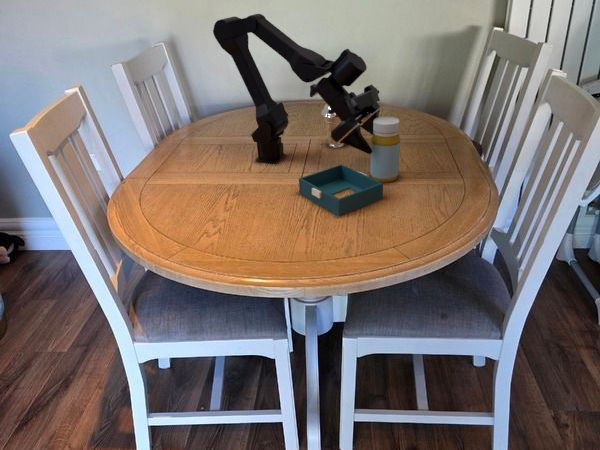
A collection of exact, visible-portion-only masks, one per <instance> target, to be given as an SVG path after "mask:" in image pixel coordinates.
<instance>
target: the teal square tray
mask: <svg viewBox="0 0 600 450" xmlns="http://www.w3.org/2000/svg"><path fill="white" fill-rule="evenodd" d="M298 189H299V191H298V193H299V194H300V195H302V196H303V197H305V198H307V199H309V201H311V202H314V203H315V204H317V205H319V206H320V207H322V208H324V209H326V210H327V211H329V212H331V213H332V214H334V215H336V216H338V217H341V216H343V215H346V214H348V213H350V212H353V211H356V210H358V209H361V208H363V207H365V206H369V205H371V204H373V203H376V202H378V201H380V200H383V197H384V183H382V182H379V181H377V180H375V179H373V178H372V177H371V176H368V174H366V173H364V172H361V171H357V170H356V169H353V168H350V167H348V166H346V165H344V164H342V163H340V164H338V165H334V166H331V167H329V168H326V169H322V170H320V171H317V172H313V173H310V174H308V175H305V176H302V177H299V178H298ZM346 190H351V191H353V193H350V194H348V195H345V196H341V197H340V198H339V197H337V196H335V194H338V193H341V192H343V191H346Z"/></svg>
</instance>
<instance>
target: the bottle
mask: <svg viewBox="0 0 600 450" xmlns="http://www.w3.org/2000/svg"><path fill="white" fill-rule="evenodd" d="M373 129H374V130H373V135H371V139H370V148H371V149H372V151H373V152H372V153H371V154H370V171H369V172H370V173H369V174H370V178H373V179H375V180H377V181H379V182H381V183H383V184H384V183H386V184H387V183H392V182H394V181H396V180H397V179H398V178H399V171H400V169H399V168H400V155H401V154H400V153H401V137H400V119H399V118H397V117H395V116H379V117H378V118H376V119H374V121H373Z"/></svg>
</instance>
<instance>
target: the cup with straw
mask: <svg viewBox="0 0 600 450" xmlns="http://www.w3.org/2000/svg"><path fill="white" fill-rule="evenodd" d="M330 110H331V108H330V107H329V106H328V105H327V103H325V105H324V107H323V109H321V116H323V119H324V123H325V126H326V135H327V142H328V146H329V147H330V148H334V149H339V148H342V147H344V146H345V144H344V143H340V141H341V140H343V138H342V139H341V140H339V141H338V142H337V143H336V142H335V141H334V140H333V139H332V137H331V132H332V131H333V130H334V129H335V128H336V127H337V126H338V125H339V124H340V123H341V122H342V121H341V120H340V119H339V118H338V117H337V115H336V114H335V113H333V114H332V115H331V113H330V112H329V111H330Z"/></svg>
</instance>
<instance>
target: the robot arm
mask: <svg viewBox="0 0 600 450" xmlns="http://www.w3.org/2000/svg"><path fill="white" fill-rule="evenodd" d="M212 33H213V36H214V38H215V40H216V41H217V43H218V45H219V47H220V48H221V49H222V50H223V51H225V53H227V54H228V55H229V56H231V58H232V60H233V62H234V64H235V66H236V67H235V68H236V69H237V71H238V73H239V75H240V78H241V79H242V81H243V83H244V86H245V88H246V90H247V92H248V94H249V96H250V98H251V100H252V102H253V105H254V106H255V121H256V124H257V127H256V128H255V129H254V131H253V132H252V133H251V135H250V136H251V139H252V141H253V143H256V151H257V158H256V159H255V162H258V163H266V164H278V163H279V162H280V161H281V160H282V159H283V158H284V157H285V155H286V154H285V152H284V151H285V150H284V142H282V137H281V136H283V135H284V132H285V130H286V129H287V128H288V125H289V123H290V122H289V117H288V116H290V115H289V114H288V112H287V111H286V108H285V105H284V103H283V102H282V101H281V102H276V101H275V100H274V99H273V98H272V95H271V94H270V91H269V90H268V87H267V85H266V83H265V81H264V79H263V76H262V74H261V71H260V70H259V68H258V66H257V64H256V61H255V60H254V58H253V55H252V53H251V50H250V47H249V34H250V33H252V34H253V35H254V36H255V37H257V38H258V39H259V40H260V41H262V42H263V43H264V44H266V45H267V46H268V47H269V48H271V49H272V50H273V51H274V52H275V53H277V54H278V55H279V56H280V57H282V58H283V59H284V60H285V61H286V62H287V63H288V64H289V67H290V68H291V71H292V72H293V73H294V75H296V76H297V78H299V79H300V81H302V82H304V83H306V84H307V83H312V82H314V81H317V80H318V79H320V78H321V79H320V80H318V82H317V83H313V84H311V85H309V87H310V90H309V97H310V98H313V97H314V96H316V95H319V96H320V98H321V99H322V100H323V101H324V102H325V104H327V105H328V106H329V107H330V108H331V110H330V111H329V112H330V113H331V115H332V114H333V113H335V114H336V115H337V117H338V118H339V119H340V120H341V121H342V122H341V123H340V124H339V125H338V126H337V127H336V128H335V129H334V130H333V131H332V132H331V137H332V139H333V140H334V141H335V142H336V143H337V142H338V141H339V140H341V139H342V138H343V140H341V141H340V143H344V145H347V146H350V147H352V148H354V149H356V150H358V151H360V152H363V153H365V154H368V155H371V153H372V152H373V151H372V149H371V145H370V144H369V143H368V142H367V140H366V138H365V137H364V135H363V134H362V131H361V130H362V129H363V130H364V131H366V132H367V133H369V134H370V135H371V136H373V130H374V129H373V121H374V119H376V118H378V117H380V112H381V110H380V108H381V106H380V104H379V103H378V102H380V101H381V99H380V96H379V94H380V90H379V89H377V87H375V86H374V85H373V84H369V85H367V86H365V87H364V88H363V92H361V93H359V94H356V93H355V92H353V91H350V92H349V91H348V90H347V89H346V88H345V87H351V86H352V85H353V84H354V83H355V82H356V81H357V80H358V79H359V78H360V77H361V76H362V75H363V74H364V73H365V72H366V71H367V68H368V67H367V63H366V61H364V59H363V58H362V57H361V56H359V55H358V54H356V53H355V52H353V51H351V50H350V49H349V48H345V49H344V50H343V51H342V52H341V53H340V55H339V56H338V57H337V58H336V59H335V60H331V59H326V58H325V56H323V55H322V54H320V53H318V52H317V51H314V50H313V49H310V48H306V47H303V46H301V45H300V44H298V43H297V42H295V40H293V39H292V38H291V37H290V36H288V35H287V34H286V33H284V32H283V31H282V30H280V29H279V28H278V26H277V27H276V26H275V24H273V23H272V22H270V21H269V20H268V19H267V18H266V16H265V15H263V14H262V13H255V14H250V15H248V16H246V17H243V18H241V17H238V16H230V17H224V18H221V19H218V20H216V22H215V23H214V24H213V29H212ZM328 74H329V76H328V77H325V76H326V75H328ZM358 124H359V125H358Z"/></svg>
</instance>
